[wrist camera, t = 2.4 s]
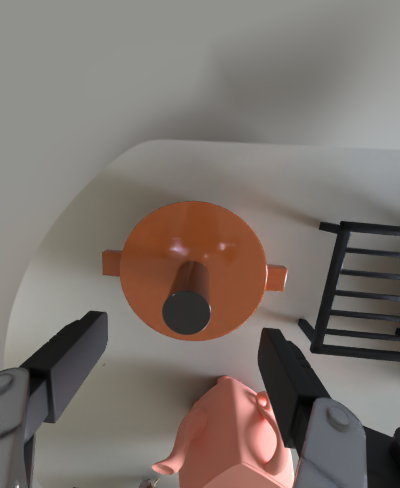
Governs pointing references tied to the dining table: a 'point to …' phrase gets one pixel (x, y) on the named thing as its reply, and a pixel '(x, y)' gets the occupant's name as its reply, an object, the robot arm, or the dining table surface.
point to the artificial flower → (147, 484)
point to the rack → (352, 295)
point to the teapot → (230, 442)
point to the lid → (193, 271)
